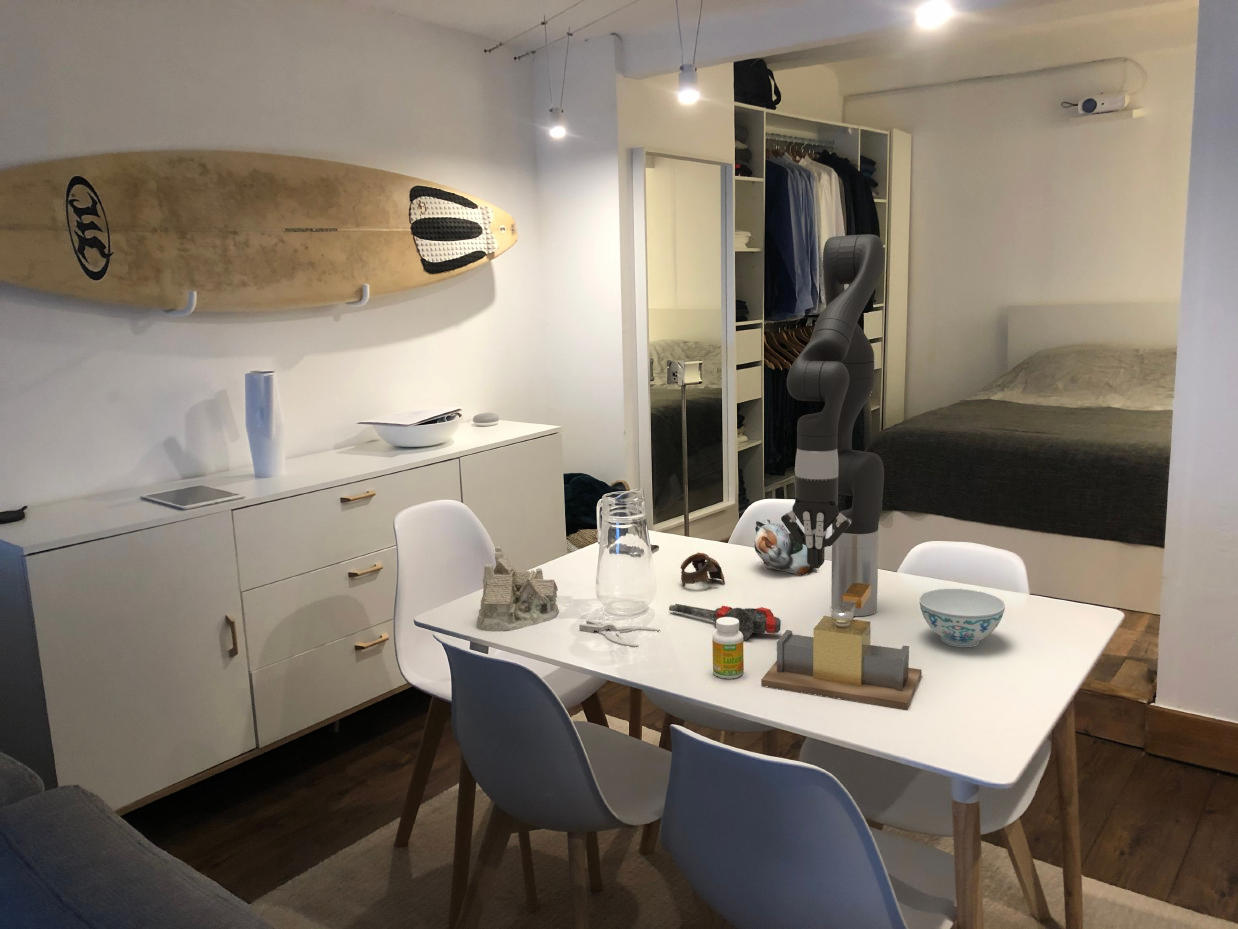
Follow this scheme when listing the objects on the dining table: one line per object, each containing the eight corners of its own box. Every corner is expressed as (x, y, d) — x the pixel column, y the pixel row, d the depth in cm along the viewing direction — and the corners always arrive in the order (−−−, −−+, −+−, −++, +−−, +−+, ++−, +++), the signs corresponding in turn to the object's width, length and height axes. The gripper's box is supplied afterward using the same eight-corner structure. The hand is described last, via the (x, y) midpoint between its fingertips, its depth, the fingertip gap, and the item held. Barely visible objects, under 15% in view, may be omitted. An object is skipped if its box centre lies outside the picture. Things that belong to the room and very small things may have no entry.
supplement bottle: (722, 682, 162) (721, 628, 160) (707, 670, 167) (706, 618, 165) (749, 675, 164) (749, 622, 162) (733, 665, 169) (733, 613, 167)
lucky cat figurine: (821, 576, 217) (798, 530, 211) (772, 595, 220) (748, 549, 214) (812, 541, 230) (790, 496, 224) (766, 559, 233) (743, 515, 227)
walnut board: (785, 656, 172) (785, 649, 172) (921, 676, 162) (921, 669, 161) (761, 686, 160) (761, 679, 160) (907, 709, 149) (907, 702, 149)
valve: (805, 635, 188) (764, 647, 176) (699, 615, 205) (656, 625, 193) (806, 603, 187) (766, 613, 176) (700, 585, 204) (657, 594, 193)
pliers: (636, 642, 178) (569, 630, 186) (636, 650, 179) (570, 637, 186) (660, 625, 187) (596, 614, 194) (660, 632, 187) (596, 621, 194)
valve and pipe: (787, 660, 168) (787, 606, 166) (908, 678, 159) (910, 621, 157) (776, 675, 162) (775, 619, 160) (901, 695, 153) (902, 636, 151)
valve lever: (850, 625, 156) (850, 614, 156) (829, 623, 158) (829, 611, 158) (871, 594, 171) (872, 584, 171) (851, 592, 173) (852, 582, 172)
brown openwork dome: (732, 590, 211) (717, 563, 208) (695, 609, 212) (679, 583, 208) (719, 562, 222) (705, 536, 218) (684, 581, 223) (669, 555, 219)
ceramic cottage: (466, 629, 192) (466, 557, 189) (499, 605, 207) (500, 538, 205) (538, 639, 187) (539, 566, 185) (565, 614, 203) (567, 546, 200)
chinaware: (941, 620, 187) (942, 583, 185) (1017, 639, 176) (1018, 599, 175) (903, 642, 177) (904, 603, 175) (981, 663, 166) (982, 621, 165)
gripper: (858, 472, 168) (856, 565, 171) (786, 467, 174) (786, 558, 177) (849, 479, 162) (847, 577, 165) (774, 474, 168) (774, 568, 171)
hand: (815, 567), depth 171 cm, fingers closed
